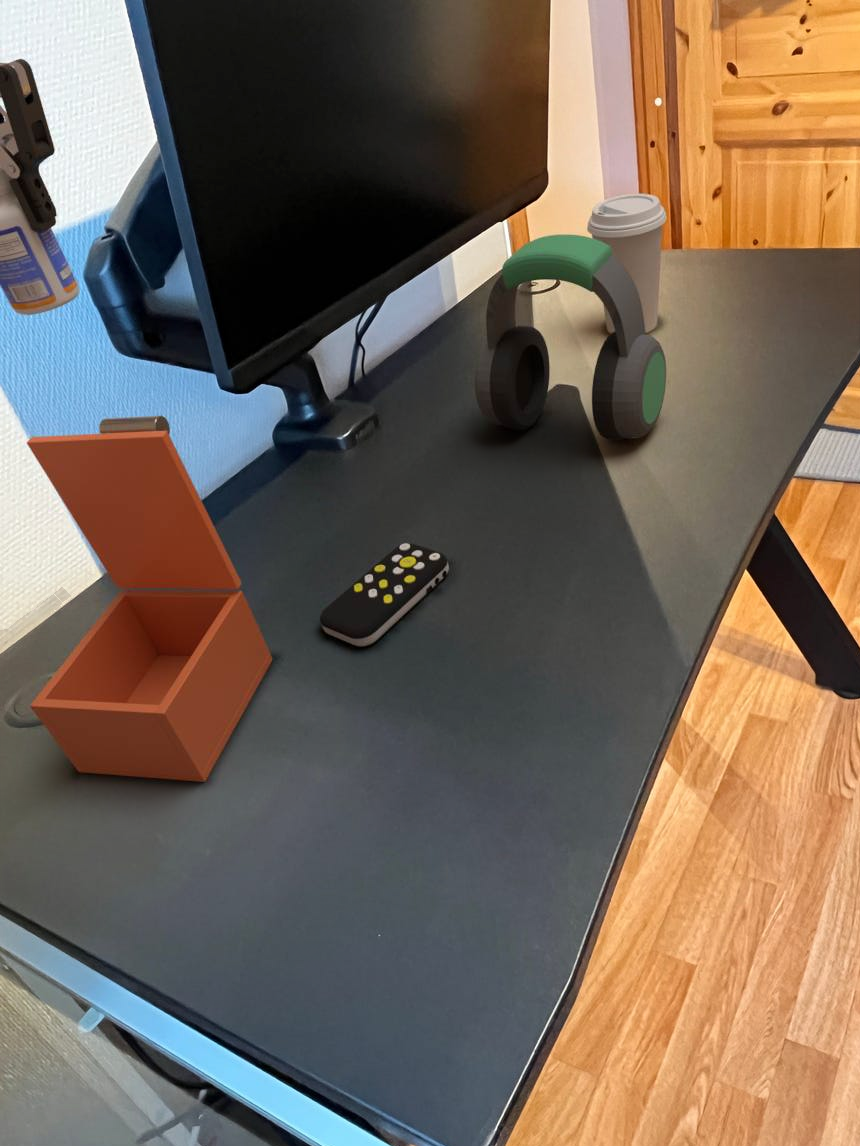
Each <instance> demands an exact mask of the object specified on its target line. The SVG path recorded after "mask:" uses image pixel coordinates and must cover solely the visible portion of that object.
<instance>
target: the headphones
mask: <svg viewBox="0 0 860 1146" xmlns="http://www.w3.org/2000/svg"><path fill="white" fill-rule="evenodd" d="M501 268H502V269H501V275H500V276H499V277H498V278H497V279H496V281H495V282H494V285H493V286H492V289H491V290H490V293H489V297H488V301H487V306H486V315H485V316H486V317H485V326H486V327H485V328H486V339H485V341H484V342H483V344H482V345H481V348H480V351H479V353H478V357H477V359H476V364H475V370H474V392H475V397H476V402H477V406H478V408H479V410H480V412H481V414H482V415H483V416H484V417H485V418H486V420H488V421H489V423H492V424H495V425H498V426H504V427H506V428H508V429H511V430H518V431H524V430H526V429H530V428H532V426H534V424H536V422H537V421H538V420H539V418H540V416H541V414H542V412H543V410H544V407H545V404H546V400H547V396H548V391H549V385H550V367H551V366H550V365H551V364H550V355H549V350H548V345H547V343H546V342H547V341H546V340H545V338H544V336H543V334H542V333H541V332H540V330H538V329H537V328H535V327H534V326H529V325H518V326H517V322H516V301H517V293H518V288H519V285H522V284H524V283H528V282H533V281H542V280H543V281H544V280H545V281H547V280H548V281H549V280H550V281H562V282H567V283H570V284H574V285H577V286H579V287H581V288H583V289H585V290H587V291H588V292H590V293H594V294H595V295H596V296H597V297H598V298H599V300H600V301H601V303H602V305H603V304H604V305H605V307H606V309H607V311H608V313H609V315H610V317H611V319H612V322H613V325H614V328H615V332H613V333H609V335H608V336H607V337H606V338H605V340H604V342H603V343H602V345H601V347H600V350H599V353H598V356H597V359H596V362H595V366H594V372H593V377H592V387H591V411H592V418H593V423H594V426H595V429H596V431H597V433H598V434H599V435H600V436H601V437H603V438H605V439H607V440H616V441H619V440H623V439H639V438H642V437H644V436H646V435H647V434H648V433H650V432H651V430H652V429H653V428H654V427H655V425H656V423H657V421H658V419H659V416H660V414H661V411H662V408H663V403H664V400H665V399H664V398H665V394H666V393H665V392H666V387H667V386H666V385H667V362H666V355H665V352H664V350H663V347H662V345H661V343H660V342H659V341H658V340H657V339H656V338H655V337H654V336H653V335H648V334H647V333H646V332H645V323H644V316H643V310H642V305H641V301H640V297H639V294H638V291H637V288H636V286H635V283H634V281H633V279H632V277H631V275H630V274H629V272H628V271H627V269H626V268H625V266H624V265H623V264H622V263H621V262H620V261H619V260H618V259H617V258H616V257H615V256H614V255H613V254H612V249H611V247H610V246H609V245H607V244H605V243H603V242H601V241H598V240H596V239H593V238H592V237H589V236H585V235H579V234H552V235H545V236H542V237H537V238H535V239H532V240H531V241H529V242H527V243H525V244H524V245H522V246H521V247H519V249H518V250H516V251H515V252H514V253H513V254H512V255H511V256H509V258H508V259H506V260H505V261H504V262H503V264H502V267H501ZM604 305H603V306H604Z"/></svg>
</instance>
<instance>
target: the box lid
mask: <svg viewBox="0 0 860 1146" xmlns="http://www.w3.org/2000/svg"><path fill="white" fill-rule="evenodd" d="M98 430H99V433H85V434H66V435H44V436H43V435H42V436H41V435H40V436H31V437H30V438H29V439H27V441H26V445H27V446H28V448H29V449H30V451H31V452H32V454H33V456H34V457H35V459H36V461H37V462H38V463H39V466H40V467H41V468H42V470H43V472H44V473H45V475H46V477H47V478H48V480H49V481H50V483H51V485H52V486H53V488H54V489H55V491H56V492H57V494H58V496H59V497H60V499H61V500H62V503H64V505H65V507H66V508H67V510H68V512H69V513H70V515H71V516H72V518H73V520H74V522H75V523H76V524H77V526H78V528H79V529H80V531H81V533H82V534H83V536H84V537H85V539H86V541H87V542H88V543H89V545H90V547H91V549H92V550H93V551H94V553H95V555H96V556H97V558H98V559H99V561H100V563H101V564H102V566H103V567H104V569H105V571H106V573H107V574H108V576H109V577H110V579H111V580H112V582H113V583H114V585H115V586H116V588H117V589H169V590H239V588H241V585H242V580H241V578H240V577H239V575H238V572H237V571H236V568H235V567H234V564H233V562H232V559H231V557H230V556H229V554H228V552H227V550H226V548H225V546H224V544H223V542H222V540H221V538H220V536H219V534H218V532H217V530H216V527H215V525H214V524H213V522H212V519H211V517H210V515H209V513H208V512H207V509H206V507H205V505H204V503H203V501H202V500H201V499H202V498H201V497H200V495H199V492H198V491H197V489H196V486H195V485H194V483H193V480H192V479H191V477H190V474H189V473H188V470H187V469H186V466H185V465H184V462H183V460H182V458H181V456H180V454H179V452H178V451H177V448H176V446H175V443H174V442H173V439H172V438H171V436H170V434H171V433H170V432H171V427H170V424H169V420H168V419H167V418H166V417H165V416H163V415H148V416H147V415H146V416H127V417H108V418H103V419H102V420H101V421H100V423H99V427H98Z"/></svg>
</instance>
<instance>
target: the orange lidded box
mask: <svg viewBox="0 0 860 1146" xmlns="http://www.w3.org/2000/svg"><path fill="white" fill-rule="evenodd" d="M273 660H274V659H273V657H272V654H271V652H270V649H269V647H268V645H267V643H266V641H265V639H264V637H263V635H262V632H261V630H260V628H259V624H258V623H257V621H256V619H255V616H254V615H253V612H252V610H251V608H250V605H249V603H248V600H247V599H246V596H245V594H244V593H243V591H242V590H205V589H121V590H120V591H119V592H118V594H117V595H116V596H115V597H114V599H112V601H111V602H110V604H109V605H108V606H107V607H106V609H105V610H104V611H103V612H102V613H101V615H100V616H99V618H98V619H97V620H96V621H95V622H94V624H93V625H92V626H91V627H90V629H89V630H88V631H87V632H86V634H85V635H84V637H83V638H82V639H81V641H80V642H79V643H78V644H77V646H75V648H74V649H73V651H72V652H71V653H70V654H69V656H68V657H66V660H64V662H63V663H62V664H61V666H60V667H59V668H58V669H57V670H56V672H55V673H54V674H53V676H52V677H51V678H50V679H49V681H48V682H47V684H46V685H45V686H44V687H43V688H42V690H41V691H40V692H39V693H38V695H37V696H36V697H35V698H34V700H33V701H32V702H31V704H30V705H29V707H30V709H31V710H32V711H33V712H34V714H35V715H36V716H37V718H38V720H40V722H41V723H42V725H43V726H44V728H45V729H46V730H47V732H49V734H50V735H51V737H52V738H53V739H54V741H55V742H56V743H57V745H58V747H60V749H61V750H62V752H63V753H64V754H65V756H66V757H67V758H68V759H69V761H70V762H71V764H72V766H74V767H75V769H76V770H77V772H79V773H87V774H97V775H99V774H100V775H110V776H114V775H115V776H123V777H125V776H126V777H136V778H149V779H150V778H151V779H160V780H161V779H162V780H172V781H173V780H174V781H187V782H197V783H199V782H200V783H206V782H207V779H208V777H209V775H210V774H211V771H212V770H213V768H214V767H215V765H216V764H217V762H218V760H219V758H220V756H221V754H222V752H223V750H224V748H225V746H226V745H227V743H228V741H229V740H230V738H231V736H232V734H233V732H234V730H235V729H236V727H237V725H238V723H239V721H240V720H241V719H242V716H243V714H244V713H245V710H246V709H247V707H248V705H249V703H250V702H251V700H252V698H253V696H254V694H255V692H256V690H257V688H259V685H260V683H261V681H262V679H263V678H264V676H265V674H266V672H267V670H268V669H269V667H270V666H271V663H272V661H273Z"/></svg>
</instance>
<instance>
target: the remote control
mask: <svg viewBox="0 0 860 1146" xmlns="http://www.w3.org/2000/svg"><path fill="white" fill-rule="evenodd" d="M449 567H450V566H449V561H448V558H447V556H446V555H444V553H442V552H440V551H436V550H434V549H431V548H429V547H428V548H427V547H424V546H421V545H419V544H415V543H407V542H406V543H402V544H400V545H398V546H397V547H395V548H394V549H392V550H391V551H390V552H389V553H388V554H386V555H385V556H384V557H383V558H382V559H381V560H379V561H378V562H377V563H376V564H375V565H374V566H373V567H372V568H370V569H369V570H368V571H367V572H366V573H365V574H363V575H362V576H361V577H360V578H359V579H357V580H356V581H355V582H354V583H353V584H352V585H351V586H350V587H348V588H347V589H346V590H345V591H344V592H342V593H341V594H340V595H339V596H337V598H336V599H335V600H333V601H332V602H331V603H330V604H329V605H327V606H326V607H325V608H324V609H323V610H322V612H321V613H320V616H319V621H320V625H321V627H322V629H323V631H324V632H325V633H326V634H327V635H330V636H332V637H334V638H337V639H339V640H341V641H343V642H346V643H348V644H351V645H353V646H357V647H367V646H369V645H372V644H374V643H375V642H377V641H378V640H379V639H380V638H381V637H382V636H383V635H385V633H387V632H388V631H389V629H391V628H392V627H393V626H394V625H395V624H396V623H397V622H398V621H399V620H400V619H401V618H403V617H404V615H405V614H407V613H408V612H409V611H410V610H411V609H412V608H413V607H414V606H415V605H416V604H418V602H419V601H421V600H422V599H423V598H424V597H425V596H426V595H427V594H428V593H429V592H431V591H432V589H434V588H435V586H437V585H438V584H439V583H440V582H441V581H442V580H443V579H445V578H446V576H447V575H448V573H449V571H450V568H449Z"/></svg>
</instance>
